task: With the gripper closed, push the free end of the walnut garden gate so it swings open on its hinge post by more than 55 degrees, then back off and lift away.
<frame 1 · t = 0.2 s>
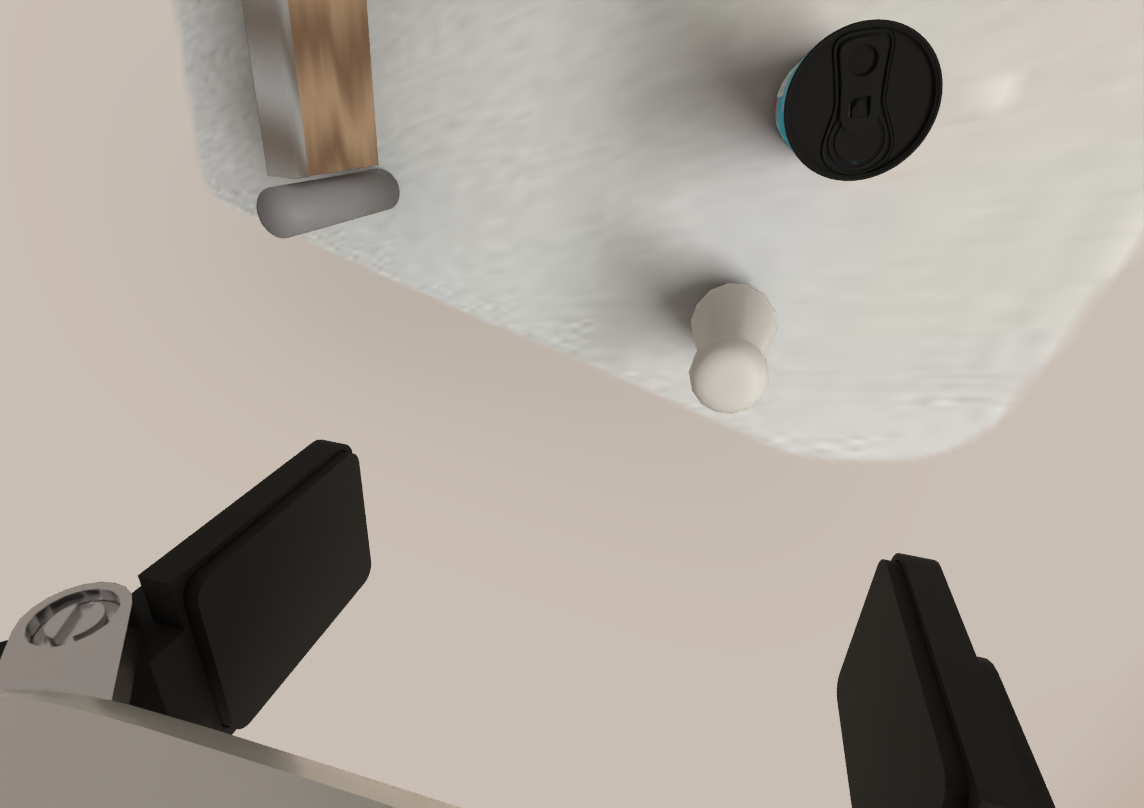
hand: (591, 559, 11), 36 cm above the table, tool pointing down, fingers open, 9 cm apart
beverage can: (824, 104, 38), on the table
hinge post: (381, 189, 48), on the table
salt shaker: (734, 313, 45), on the table
gate: (316, 41, 38), point 6 cm above the table, hinge at 0.0°
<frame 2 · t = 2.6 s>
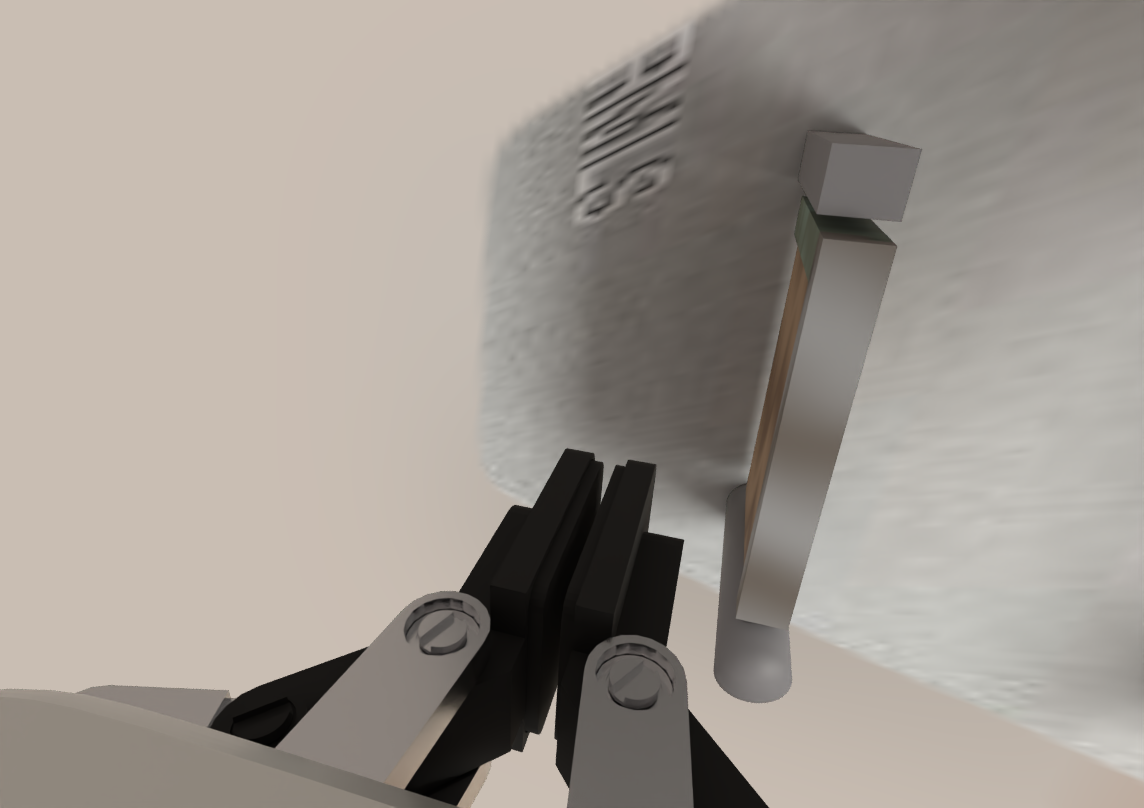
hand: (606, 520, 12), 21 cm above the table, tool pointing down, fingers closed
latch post: (831, 157, 27), on the table
hinge post: (753, 506, 35), on the table
gate: (795, 404, 25), point 6 cm above the table, hinge at 0.0°
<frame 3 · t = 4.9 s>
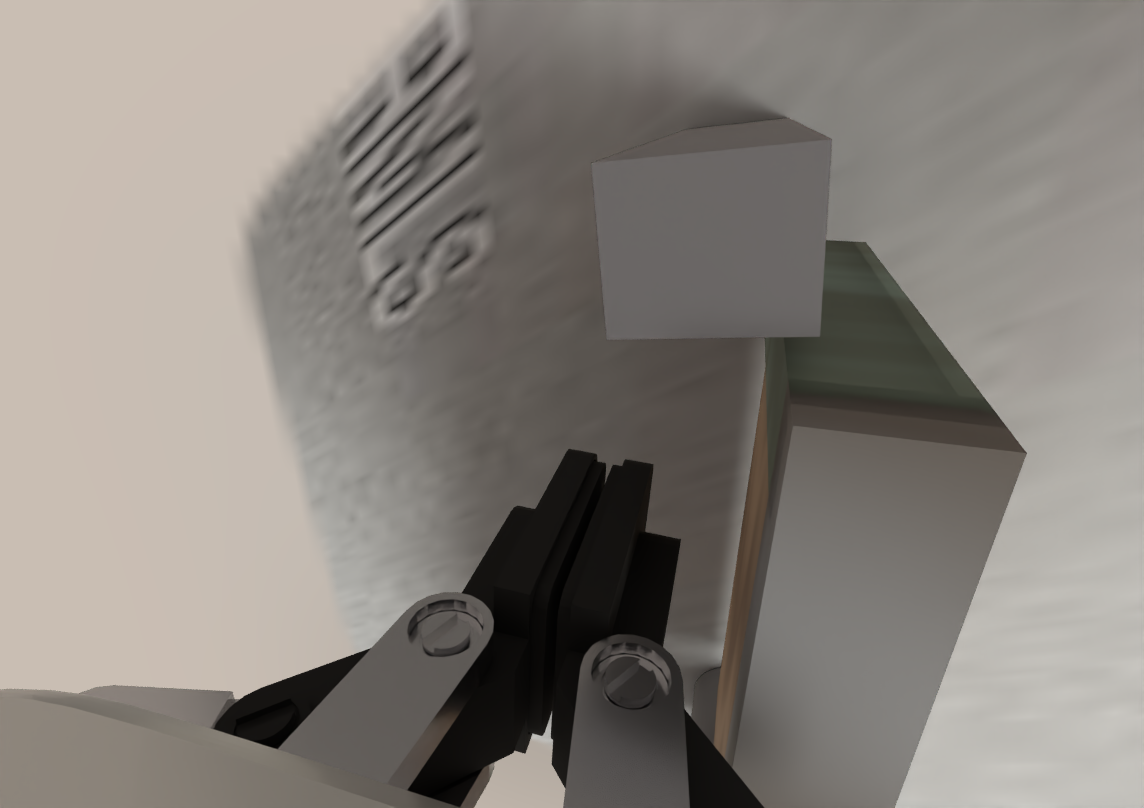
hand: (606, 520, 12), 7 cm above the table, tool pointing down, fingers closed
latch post: (736, 167, 15), on the table
hinge post: (735, 697, 23), on the table
gate: (776, 637, 13), point 6 cm above the table, hinge at 6.4°, touching gripper
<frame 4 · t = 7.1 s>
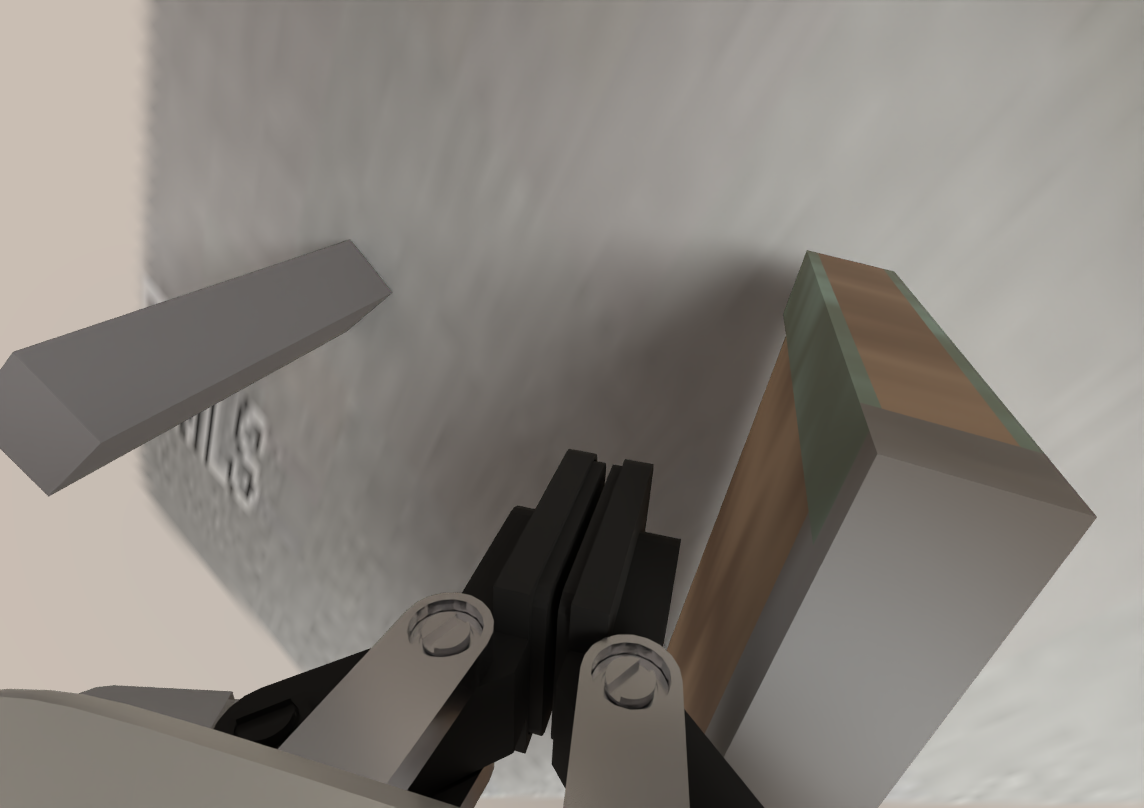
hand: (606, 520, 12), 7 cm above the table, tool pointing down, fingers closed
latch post: (348, 287, 20), on the table
gate: (744, 639, 14), point 6 cm above the table, hinge at 48.6°, touching gripper
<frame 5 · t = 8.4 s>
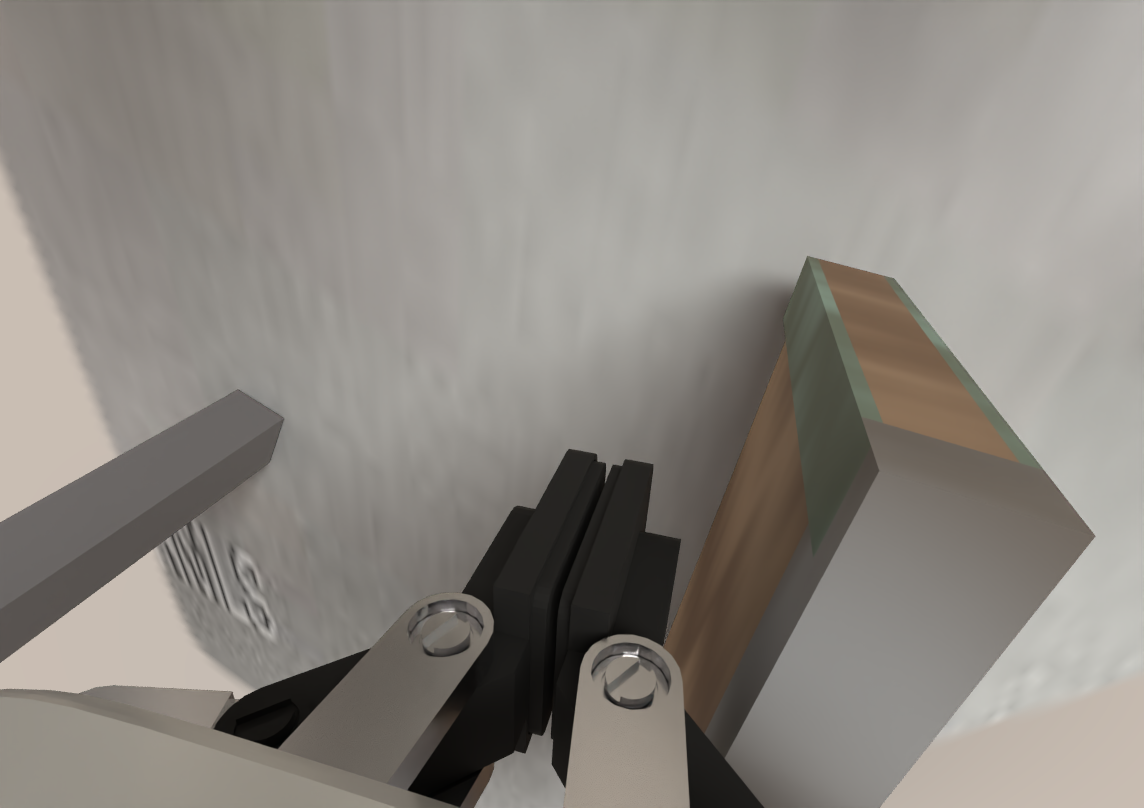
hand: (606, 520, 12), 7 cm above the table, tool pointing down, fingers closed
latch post: (254, 427, 24), on the table
gate: (740, 643, 14), point 6 cm above the table, hinge at 72.8°, touching gripper
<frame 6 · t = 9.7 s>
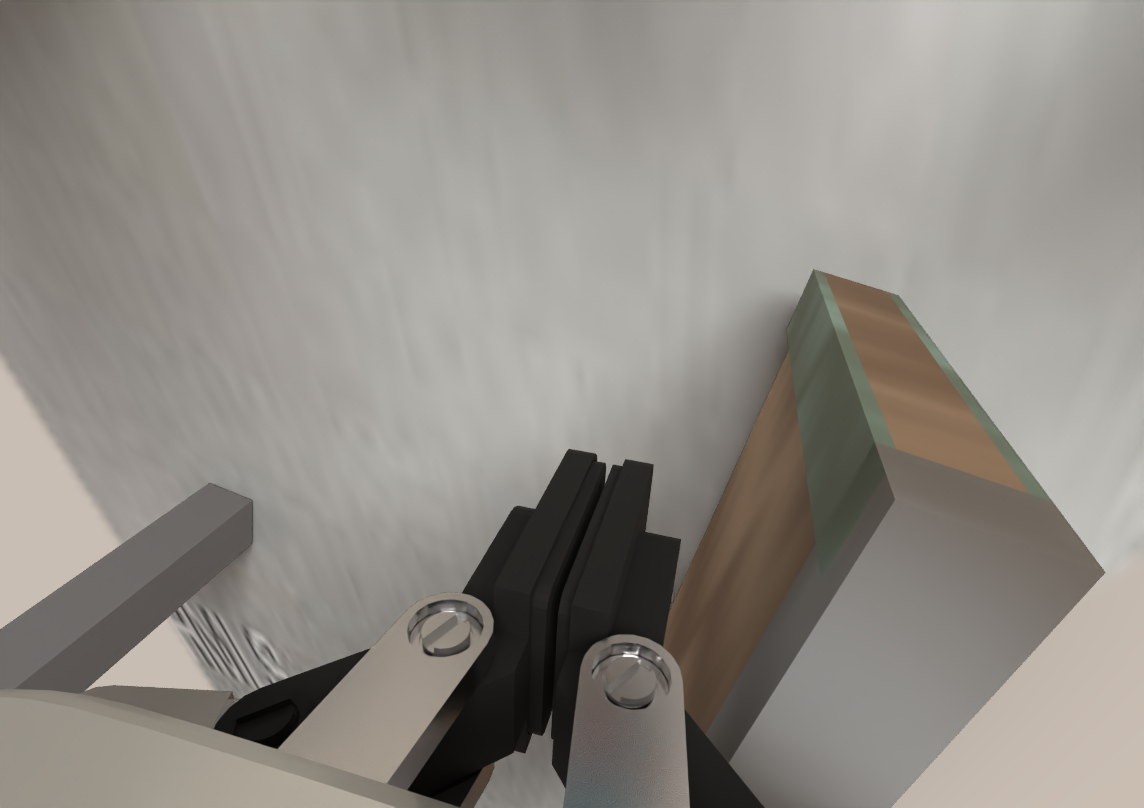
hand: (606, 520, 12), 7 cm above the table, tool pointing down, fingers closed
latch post: (231, 513, 26), on the table
gate: (733, 652, 14), point 6 cm above the table, hinge at 89.2°, touching gripper
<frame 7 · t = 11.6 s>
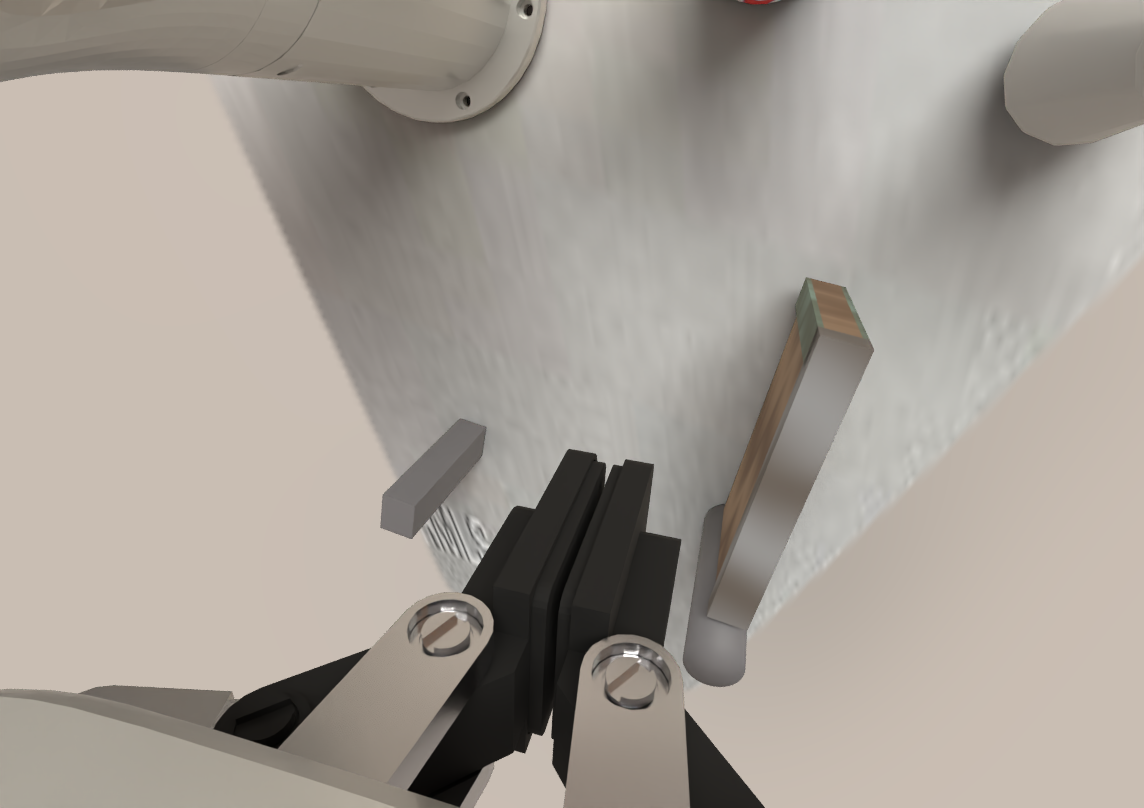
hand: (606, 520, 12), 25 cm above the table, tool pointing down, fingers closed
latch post: (471, 437, 44), on the table
hinge post: (727, 523, 41), on the table
salt shaker: (1062, 71, 27), on the table
gate: (777, 448, 31), point 6 cm above the table, hinge at 89.3°
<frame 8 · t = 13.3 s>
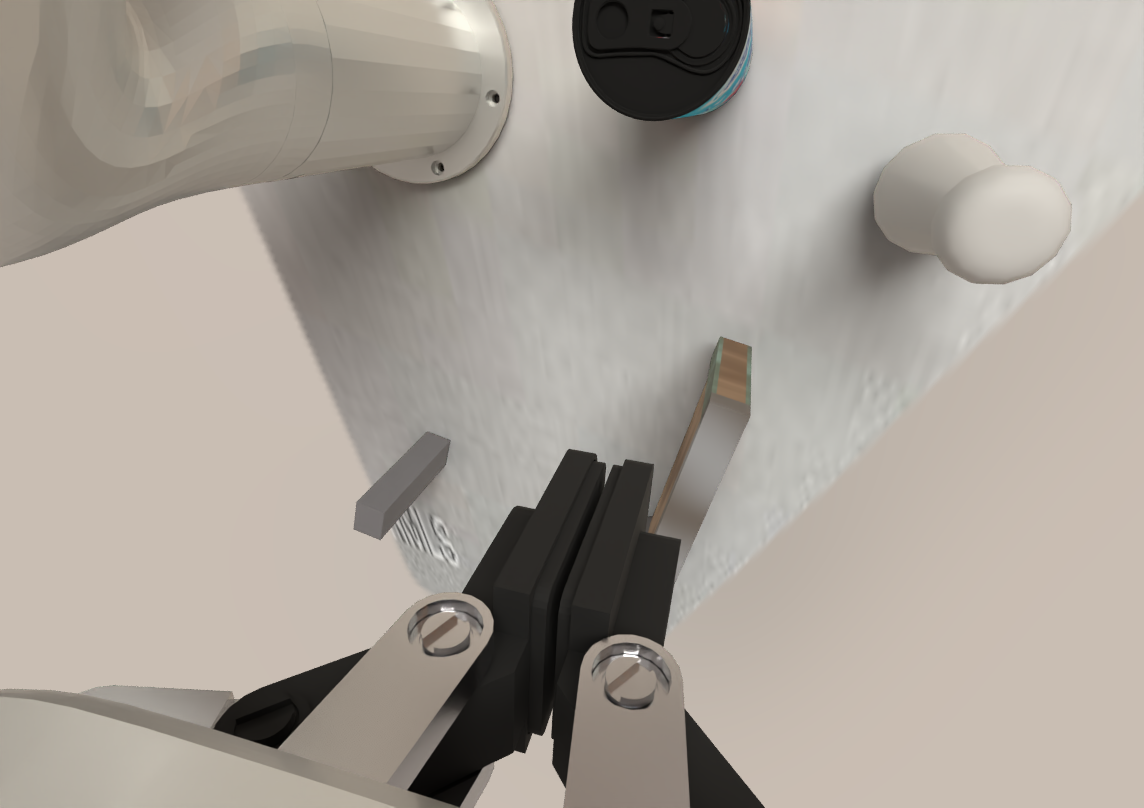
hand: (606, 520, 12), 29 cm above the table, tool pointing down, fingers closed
beverage can: (696, 55, 34), on the table
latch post: (436, 448, 50), on the table
salt shaker: (923, 188, 34), on the table
gate: (688, 478, 37), point 6 cm above the table, hinge at 89.3°
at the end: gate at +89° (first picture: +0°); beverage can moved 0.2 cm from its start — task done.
